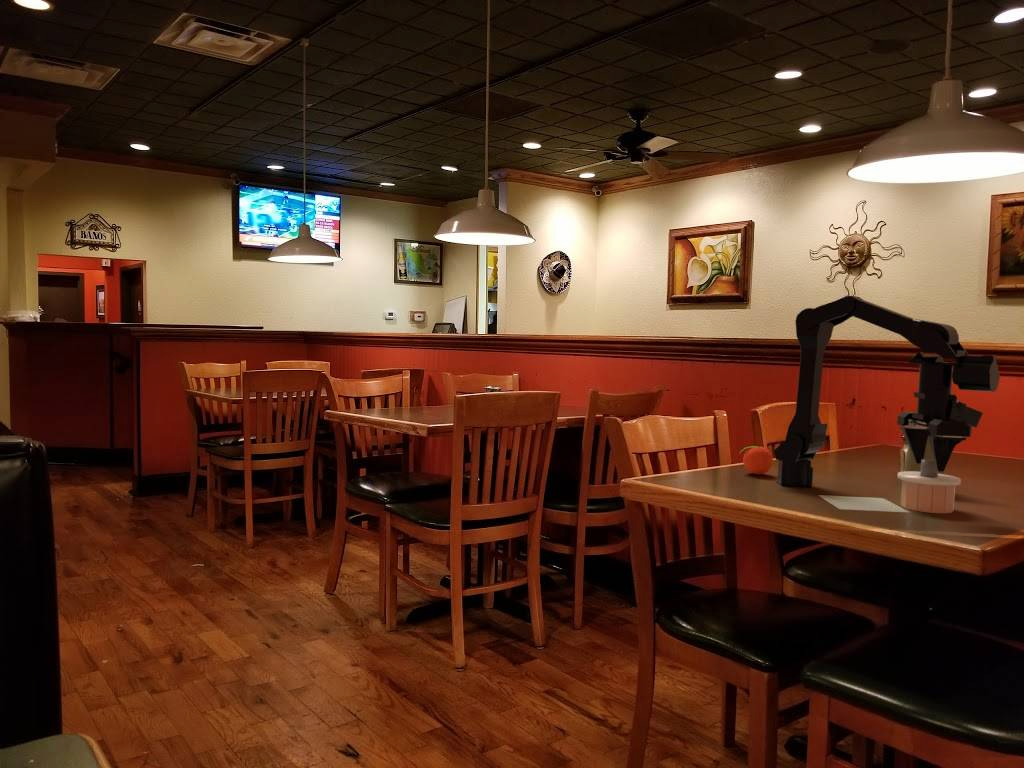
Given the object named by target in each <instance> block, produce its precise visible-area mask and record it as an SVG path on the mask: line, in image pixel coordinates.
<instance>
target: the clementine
mask: <svg viewBox="0 0 1024 768" xmlns="http://www.w3.org/2000/svg"><path fill="white" fill-rule="evenodd" d="M745 449H747V450H746V451H745V453H744V454H743V458H742V459H743V466H744V468H745V470H746V471H748V472H749V473H751V474H753V475H756V476H757V475H758V476H760V475H765V474H766V473H768V472H770V470H771V468H772V466H773V463H774V461H773V460H774V459H773V454H772V453H771V452H770V450H768V449H767V448H766V447H765V446H764V447H763V446H760V445H756V446H755V445H752V446H747V447H744V448H743V449H742V450H741V451H740V452H739V454H741V452H742V451H744V450H745Z"/></svg>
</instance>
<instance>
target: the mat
mask: <svg viewBox="0 0 1024 768" xmlns="http://www.w3.org/2000/svg"><path fill="white" fill-rule="evenodd" d="M818 496H819V497H820V498H821V499H822V500H825V501H826V502H828V503H829V504H831V505H832V506H834V507H835V508H837V509H838V510H840V511H841V510H842V511H843V510H845V511H864V512H866V511H867V512H883V513H884V512H886V513H888V512H889V513H905V514H906V513H907V514H910V513H911V512H910V511H909V510H907V509H906V508H905V509H904V507H902V506H898V505H897V504H894V503H893V502H891V501H889V500H887V499H886V498H884V497H882V498H881V497H868V496H867V497H863V496H845V495H844V496H840V495H822V494H821V495H818Z"/></svg>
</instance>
